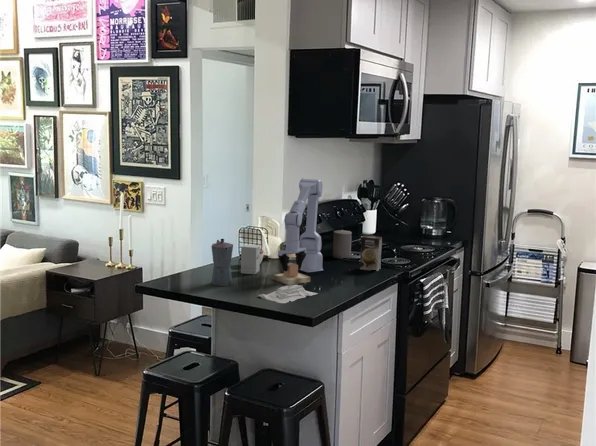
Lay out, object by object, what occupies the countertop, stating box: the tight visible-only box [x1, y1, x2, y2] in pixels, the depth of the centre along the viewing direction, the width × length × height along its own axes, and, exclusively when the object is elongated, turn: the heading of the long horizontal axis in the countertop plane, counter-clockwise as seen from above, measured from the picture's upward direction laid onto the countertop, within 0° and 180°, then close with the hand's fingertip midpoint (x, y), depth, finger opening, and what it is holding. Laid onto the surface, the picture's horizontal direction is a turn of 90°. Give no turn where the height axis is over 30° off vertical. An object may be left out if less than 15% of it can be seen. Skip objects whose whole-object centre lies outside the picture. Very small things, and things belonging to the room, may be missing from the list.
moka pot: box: [210, 238, 234, 287], centre depth 267 cm, size 10×15×20 cm, turn 27°
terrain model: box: [257, 284, 319, 304], centre depth 252 cm, size 17×23×5 cm
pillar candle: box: [332, 228, 353, 260], centre depth 331 cm, size 10×10×15 cm
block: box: [283, 262, 299, 277], centre depth 277 cm, size 4×4×5 cm
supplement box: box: [240, 244, 261, 275], centre depth 290 cm, size 7×7×13 cm
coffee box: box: [359, 235, 383, 272], centre depth 303 cm, size 9×6×16 cm
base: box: [272, 272, 311, 286], centre depth 277 cm, size 12×12×2 cm
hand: (291, 269), depth 276 cm, fingers open, 7 cm apart
